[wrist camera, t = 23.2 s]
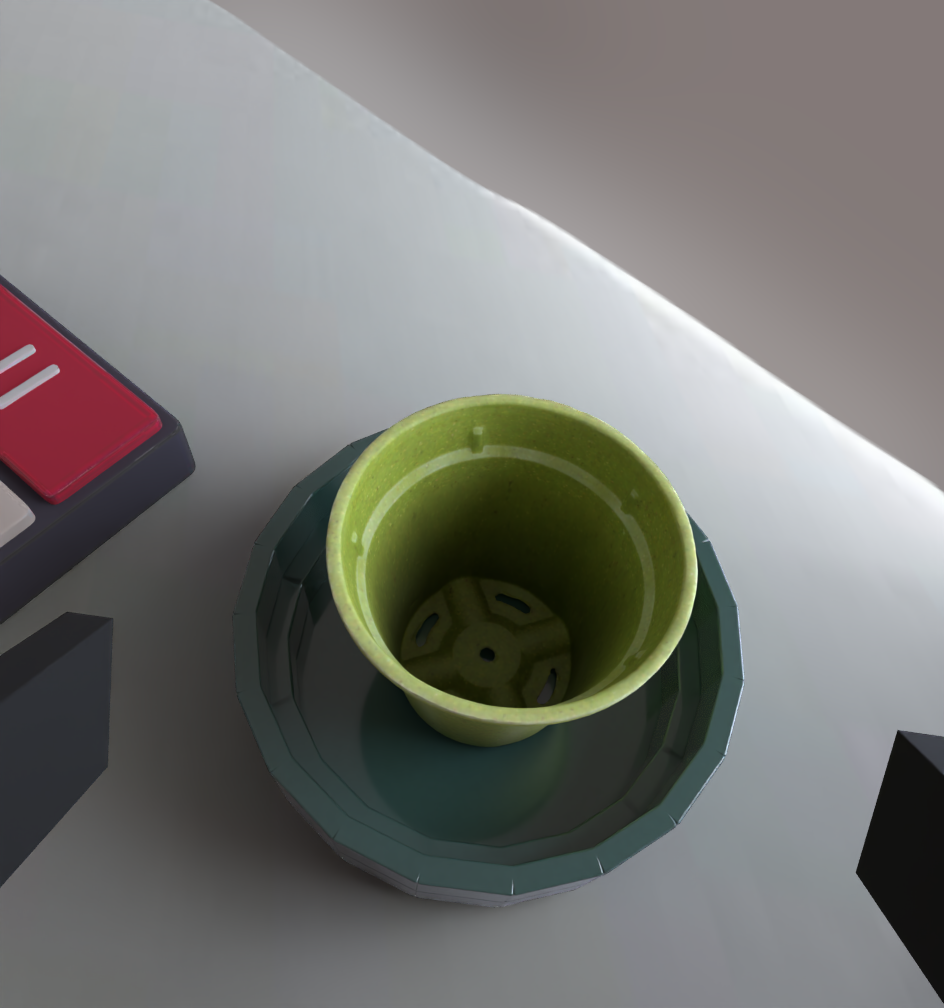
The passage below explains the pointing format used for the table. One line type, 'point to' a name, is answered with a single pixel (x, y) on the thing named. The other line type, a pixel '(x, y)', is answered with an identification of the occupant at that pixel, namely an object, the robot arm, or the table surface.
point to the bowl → (458, 766)
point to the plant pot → (510, 563)
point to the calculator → (70, 450)
